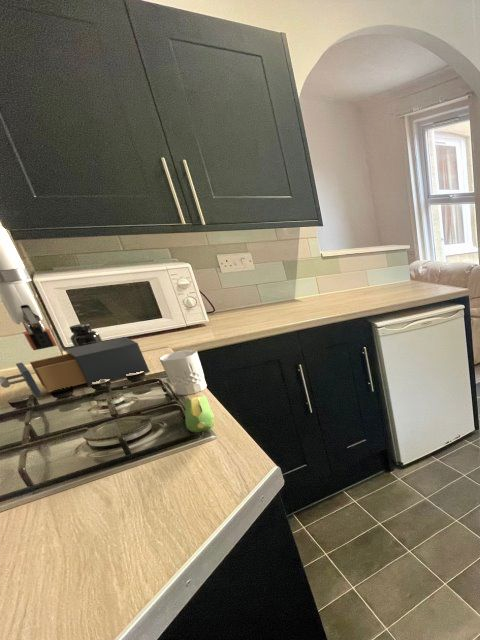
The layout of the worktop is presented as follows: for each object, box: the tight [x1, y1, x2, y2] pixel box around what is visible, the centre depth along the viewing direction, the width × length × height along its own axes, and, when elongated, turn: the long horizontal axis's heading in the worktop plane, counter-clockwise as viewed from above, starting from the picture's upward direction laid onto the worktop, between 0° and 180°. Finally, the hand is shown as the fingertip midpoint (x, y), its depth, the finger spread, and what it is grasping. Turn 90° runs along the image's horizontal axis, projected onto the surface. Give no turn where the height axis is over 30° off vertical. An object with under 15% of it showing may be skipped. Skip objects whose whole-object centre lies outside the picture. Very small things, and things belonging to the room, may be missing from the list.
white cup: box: [159, 349, 208, 396], centre depth 110 cm, size 8×8×10 cm
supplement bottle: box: [69, 322, 103, 348], centre depth 136 cm, size 7×7×12 cm
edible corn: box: [184, 395, 215, 433], centre depth 95 cm, size 5×20×5 cm, turn 38°
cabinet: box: [65, 336, 150, 388], centre depth 123 cm, size 14×13×9 cm
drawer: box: [0, 353, 87, 398], centre depth 114 cm, size 17×11×7 cm
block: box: [22, 327, 58, 351], centre depth 111 cm, size 4×4×4 cm
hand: (43, 345), depth 112 cm, fingers closed on block, 4 cm apart
